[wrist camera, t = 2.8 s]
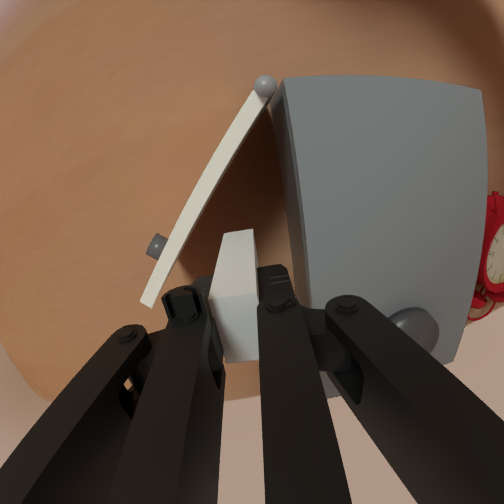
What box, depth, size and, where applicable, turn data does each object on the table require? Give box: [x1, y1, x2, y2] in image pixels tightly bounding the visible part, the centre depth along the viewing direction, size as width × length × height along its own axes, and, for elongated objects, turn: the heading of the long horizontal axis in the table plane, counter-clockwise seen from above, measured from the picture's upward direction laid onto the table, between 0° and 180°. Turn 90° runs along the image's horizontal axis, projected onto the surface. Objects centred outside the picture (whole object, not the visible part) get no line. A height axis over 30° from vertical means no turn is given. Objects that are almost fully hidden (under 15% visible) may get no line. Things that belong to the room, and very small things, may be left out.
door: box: [140, 75, 277, 308], centre depth 17 cm, size 14×2×8 cm, turn 149°
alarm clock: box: [467, 191, 504, 321], centre depth 22 cm, size 10×6×15 cm
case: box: [270, 75, 488, 399], centre depth 18 cm, size 20×12×10 cm, turn 9°
